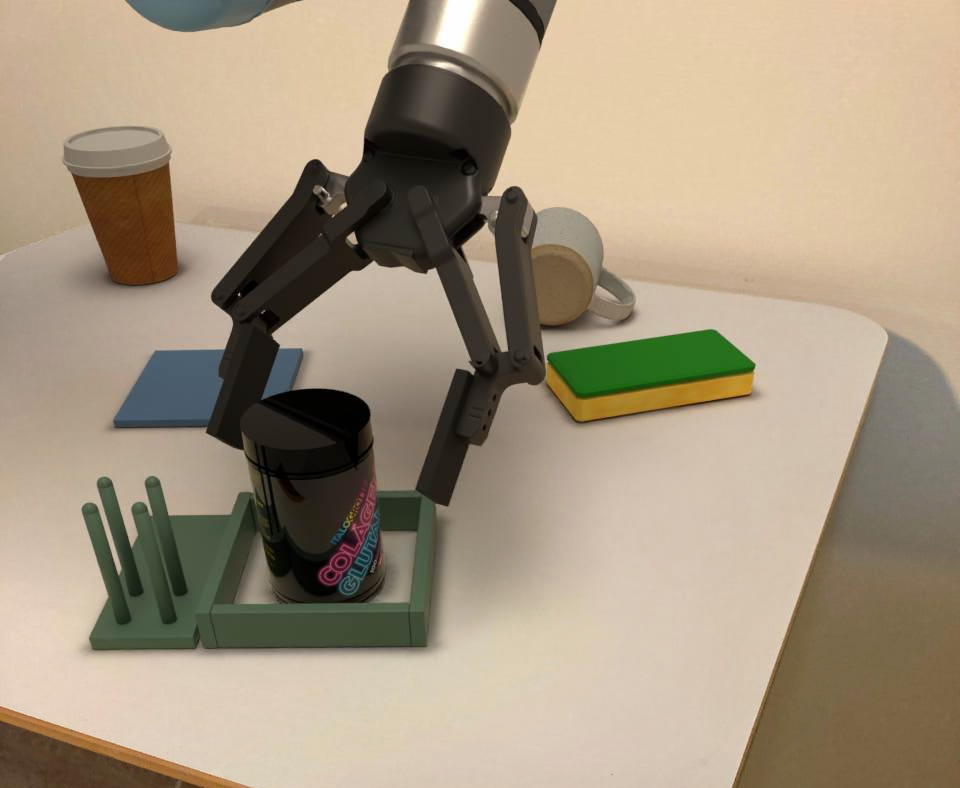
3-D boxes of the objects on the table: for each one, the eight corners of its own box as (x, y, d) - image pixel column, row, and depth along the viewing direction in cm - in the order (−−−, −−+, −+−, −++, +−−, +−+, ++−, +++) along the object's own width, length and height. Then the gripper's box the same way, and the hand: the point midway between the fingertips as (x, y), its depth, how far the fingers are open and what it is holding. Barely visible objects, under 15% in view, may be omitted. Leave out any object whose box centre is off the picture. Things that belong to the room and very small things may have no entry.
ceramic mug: (505, 329, 87) (507, 236, 82) (515, 292, 93) (516, 203, 88) (633, 335, 86) (642, 241, 81) (634, 297, 92) (642, 207, 87)
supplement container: (304, 632, 56) (276, 463, 50) (249, 574, 61) (217, 412, 54) (409, 587, 59) (396, 422, 53) (349, 535, 64) (330, 376, 57)
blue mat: (114, 427, 75) (112, 420, 75) (156, 357, 84) (155, 350, 84) (279, 425, 75) (278, 417, 74) (303, 354, 84) (302, 347, 84)
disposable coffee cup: (104, 258, 103) (71, 126, 95) (201, 253, 103) (176, 121, 95) (83, 294, 95) (45, 154, 88) (187, 289, 96) (159, 150, 88)
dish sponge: (753, 395, 77) (758, 364, 75) (577, 424, 74) (578, 392, 72) (710, 356, 82) (714, 326, 80) (544, 382, 79) (545, 351, 78)
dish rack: (91, 649, 56) (48, 520, 50) (149, 525, 65) (117, 406, 60) (426, 646, 55) (417, 516, 50) (437, 522, 64) (430, 401, 59)
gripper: (679, 166, 55) (552, 542, 55) (299, 121, 65) (188, 441, 64) (651, 74, 48) (505, 505, 48) (229, 40, 58) (104, 398, 57)
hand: (323, 469), depth 56 cm, fingers open, 13 cm apart
